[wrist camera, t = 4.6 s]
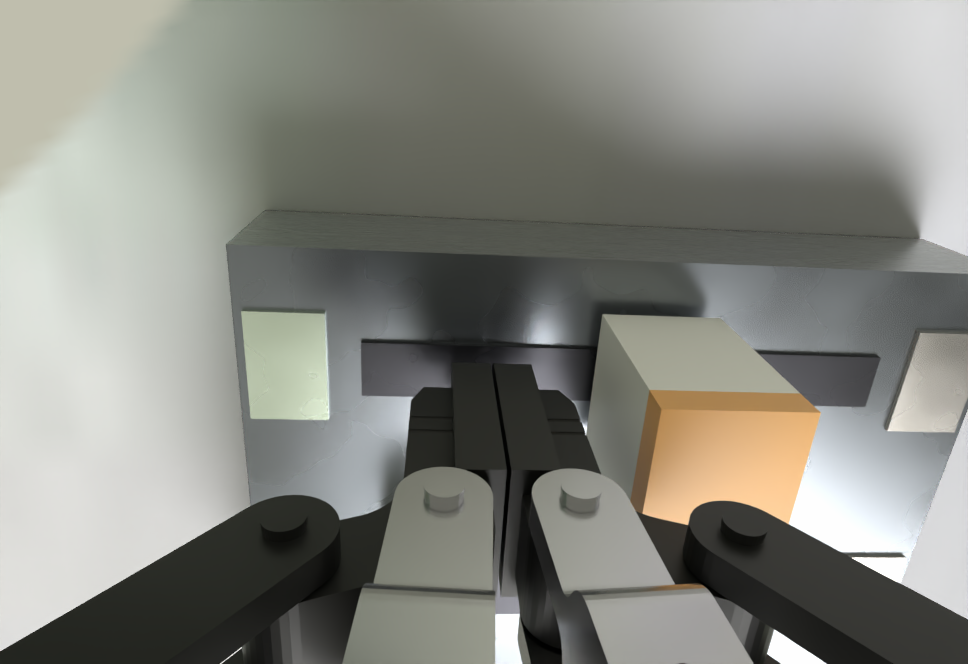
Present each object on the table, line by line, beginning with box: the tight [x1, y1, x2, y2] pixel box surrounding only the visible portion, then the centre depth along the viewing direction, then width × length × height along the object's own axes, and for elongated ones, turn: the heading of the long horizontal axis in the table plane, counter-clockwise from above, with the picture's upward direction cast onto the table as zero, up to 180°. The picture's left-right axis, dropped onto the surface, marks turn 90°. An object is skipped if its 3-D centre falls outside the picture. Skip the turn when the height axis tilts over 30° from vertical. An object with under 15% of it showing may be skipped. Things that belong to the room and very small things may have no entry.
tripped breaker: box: [586, 314, 821, 525], centre depth 12 cm, size 2×3×4 cm
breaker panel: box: [226, 210, 968, 664], centre depth 16 cm, size 16×11×3 cm
